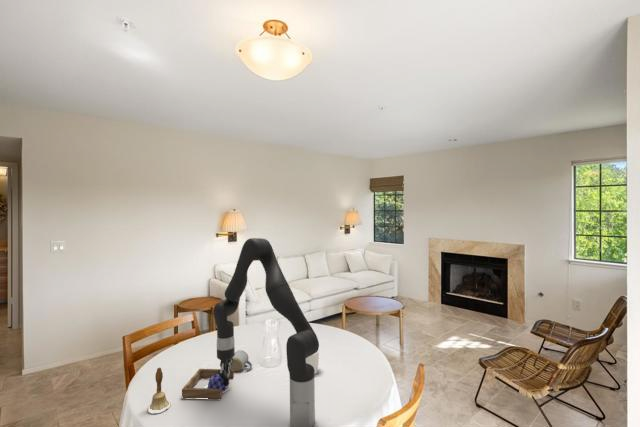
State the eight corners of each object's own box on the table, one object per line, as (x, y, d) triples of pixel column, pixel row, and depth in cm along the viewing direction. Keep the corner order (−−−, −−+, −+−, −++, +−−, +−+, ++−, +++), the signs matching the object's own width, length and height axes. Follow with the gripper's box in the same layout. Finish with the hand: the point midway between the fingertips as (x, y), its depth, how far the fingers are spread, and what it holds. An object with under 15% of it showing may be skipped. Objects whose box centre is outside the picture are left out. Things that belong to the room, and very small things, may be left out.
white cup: (317, 376, 153) (316, 355, 153) (300, 375, 155) (300, 354, 155) (320, 368, 161) (320, 348, 161) (304, 367, 163) (304, 347, 162)
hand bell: (164, 399, 136) (163, 361, 136) (174, 407, 131) (173, 367, 131) (143, 409, 130) (142, 369, 129) (153, 417, 124) (152, 376, 124)
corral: (220, 399, 135) (220, 390, 135) (182, 399, 136) (181, 389, 136) (233, 377, 153) (233, 369, 153) (199, 377, 154) (199, 368, 154)
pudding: (205, 382, 149) (205, 371, 149) (232, 380, 151) (232, 369, 151) (199, 398, 137) (199, 385, 137) (228, 395, 139) (228, 383, 139)
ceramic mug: (227, 372, 158) (227, 356, 158) (234, 364, 166) (234, 349, 166) (248, 373, 157) (248, 358, 156) (254, 365, 165) (254, 350, 165)
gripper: (229, 352, 137) (229, 393, 137) (238, 339, 150) (239, 377, 150) (211, 352, 137) (212, 393, 138) (222, 339, 150) (223, 376, 151)
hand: (226, 384), depth 144 cm, fingers closed
